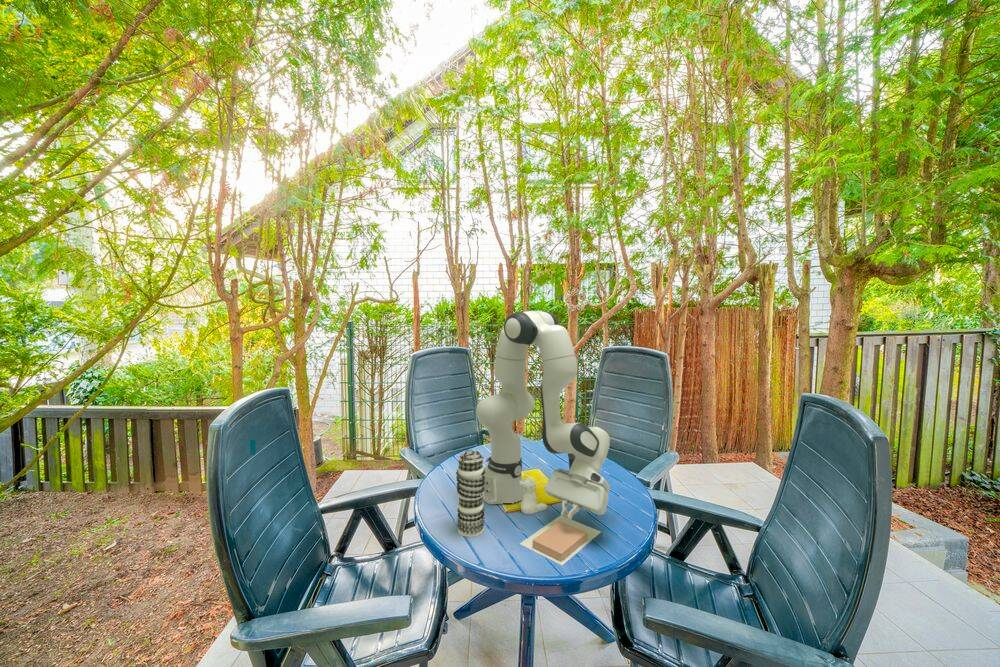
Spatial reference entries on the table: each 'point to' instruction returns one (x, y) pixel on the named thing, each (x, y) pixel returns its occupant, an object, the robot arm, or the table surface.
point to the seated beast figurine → (530, 498)
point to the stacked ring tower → (470, 493)
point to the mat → (590, 531)
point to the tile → (559, 540)
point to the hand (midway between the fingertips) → (565, 517)
